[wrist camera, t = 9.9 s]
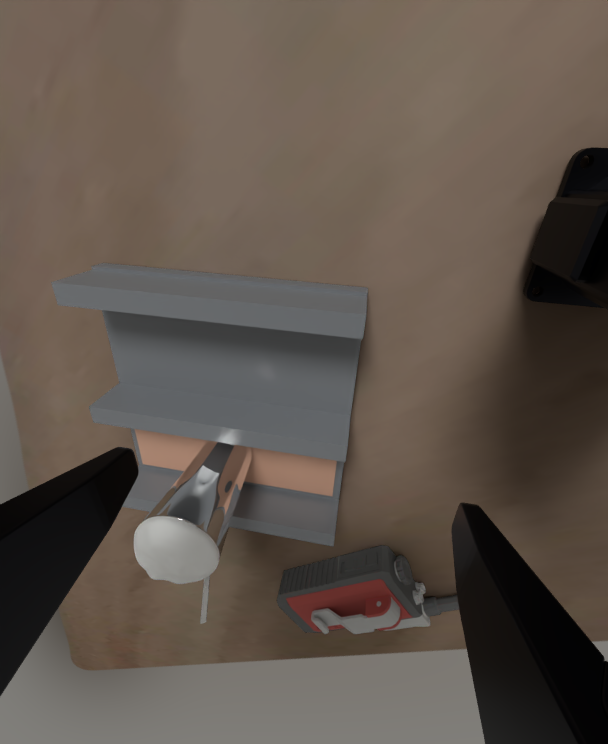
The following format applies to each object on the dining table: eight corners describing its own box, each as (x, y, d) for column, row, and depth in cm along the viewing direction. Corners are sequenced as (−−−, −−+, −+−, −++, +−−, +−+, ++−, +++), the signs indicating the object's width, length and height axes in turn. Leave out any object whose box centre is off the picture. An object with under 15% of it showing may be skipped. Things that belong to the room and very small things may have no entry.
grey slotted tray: (368, 287, 19) (367, 310, 16) (338, 502, 27) (332, 548, 24) (102, 262, 21) (49, 278, 18) (149, 469, 29) (119, 507, 26)
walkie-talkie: (317, 618, 37) (519, 583, 29) (311, 668, 33) (541, 644, 25) (269, 568, 34) (477, 514, 26) (256, 617, 30) (495, 571, 22)
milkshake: (239, 486, 27) (175, 632, 18) (188, 439, 25) (92, 573, 17) (282, 462, 25) (233, 613, 16) (229, 410, 23) (145, 544, 15)
